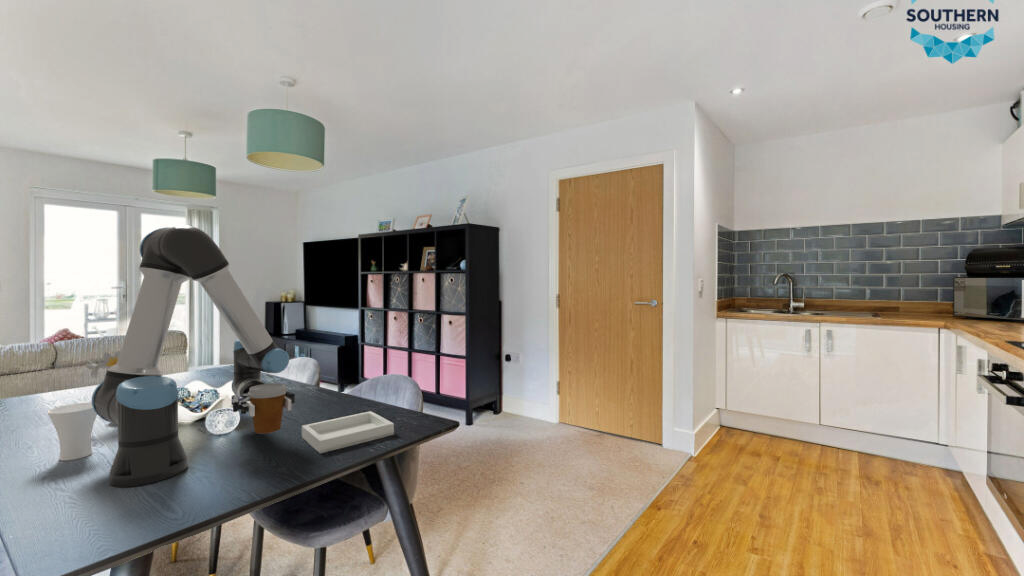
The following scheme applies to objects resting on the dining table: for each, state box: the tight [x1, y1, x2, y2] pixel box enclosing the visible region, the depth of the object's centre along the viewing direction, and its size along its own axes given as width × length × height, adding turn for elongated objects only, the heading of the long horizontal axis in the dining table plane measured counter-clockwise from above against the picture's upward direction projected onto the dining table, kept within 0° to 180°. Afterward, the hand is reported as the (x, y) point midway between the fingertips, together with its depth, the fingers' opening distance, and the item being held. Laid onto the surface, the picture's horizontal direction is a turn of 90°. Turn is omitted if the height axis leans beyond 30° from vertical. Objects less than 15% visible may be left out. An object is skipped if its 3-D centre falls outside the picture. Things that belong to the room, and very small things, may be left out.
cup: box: [46, 401, 98, 462], centre depth 122 cm, size 10×10×14 cm
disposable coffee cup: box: [248, 382, 288, 434], centre depth 123 cm, size 10×10×12 cm
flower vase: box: [85, 347, 122, 379], centre depth 153 cm, size 13×18×25 cm
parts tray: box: [301, 411, 395, 454], centre depth 136 cm, size 22×17×4 cm
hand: (271, 408), depth 119 cm, fingers closed on disposable coffee cup, 8 cm apart
